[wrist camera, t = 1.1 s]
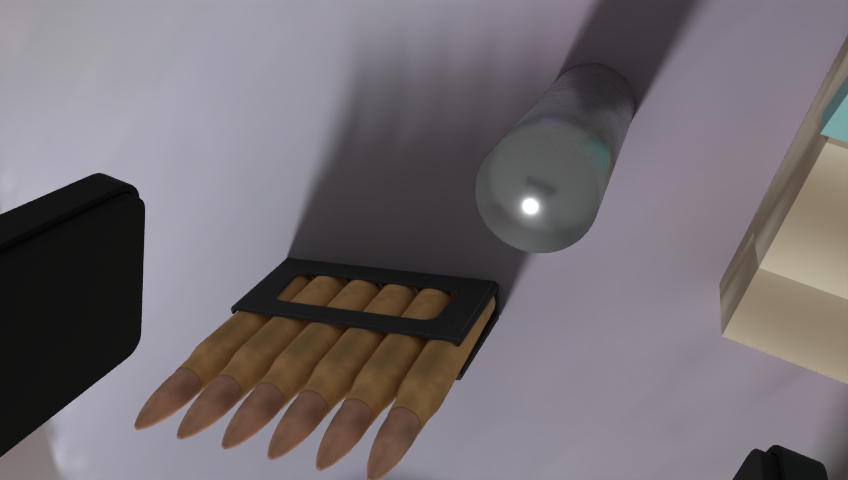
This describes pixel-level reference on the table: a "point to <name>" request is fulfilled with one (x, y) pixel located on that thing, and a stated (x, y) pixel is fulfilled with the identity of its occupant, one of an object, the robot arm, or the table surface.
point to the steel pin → (556, 161)
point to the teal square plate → (837, 115)
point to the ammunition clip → (333, 358)
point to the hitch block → (798, 253)
